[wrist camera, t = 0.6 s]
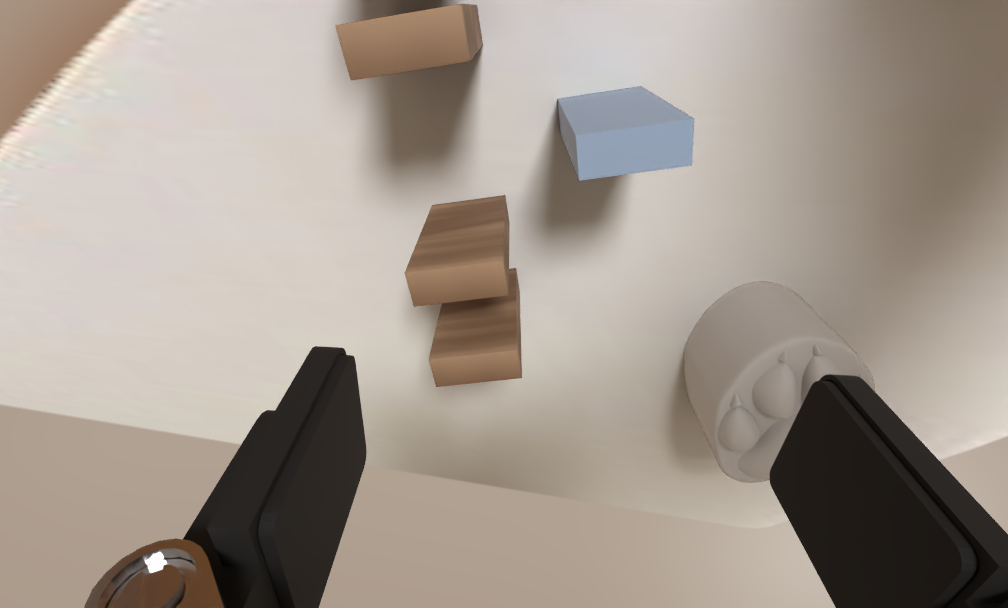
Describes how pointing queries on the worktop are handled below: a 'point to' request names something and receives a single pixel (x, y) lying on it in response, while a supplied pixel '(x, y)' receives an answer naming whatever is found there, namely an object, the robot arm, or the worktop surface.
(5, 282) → the worktop surface
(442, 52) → the domino
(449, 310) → the domino
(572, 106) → the blue domino
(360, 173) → the worktop surface
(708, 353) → the lumpy-topped squat cylinder
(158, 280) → the worktop surface
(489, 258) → the domino
